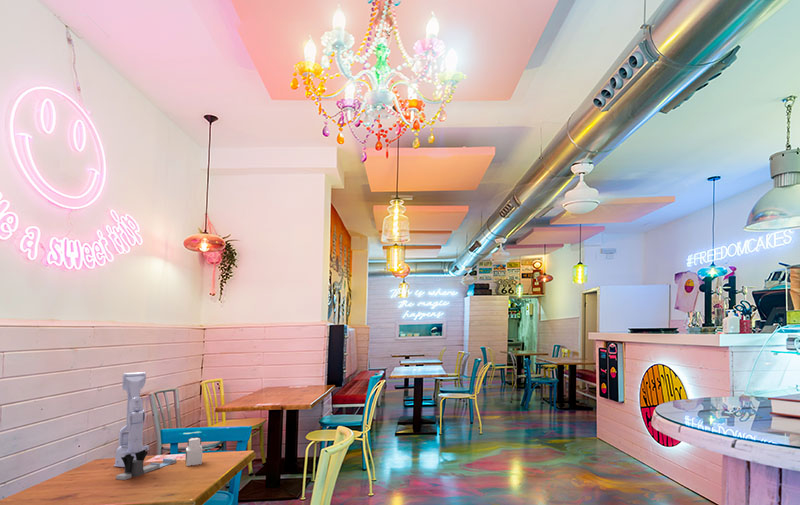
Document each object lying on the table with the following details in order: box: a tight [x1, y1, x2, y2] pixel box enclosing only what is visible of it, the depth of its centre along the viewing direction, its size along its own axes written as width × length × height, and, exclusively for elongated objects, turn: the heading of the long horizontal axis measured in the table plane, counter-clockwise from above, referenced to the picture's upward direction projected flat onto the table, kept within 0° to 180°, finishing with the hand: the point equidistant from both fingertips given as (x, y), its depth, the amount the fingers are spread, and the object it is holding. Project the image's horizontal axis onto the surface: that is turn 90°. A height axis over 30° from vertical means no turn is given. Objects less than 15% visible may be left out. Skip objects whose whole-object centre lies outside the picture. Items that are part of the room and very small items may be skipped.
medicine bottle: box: [185, 436, 203, 467], centre depth 241 cm, size 7×7×12 cm
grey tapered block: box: [123, 460, 144, 478], centre depth 224 cm, size 7×4×6 cm, turn 71°
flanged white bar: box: [115, 458, 177, 481], centre depth 231 cm, size 5×30×2 cm, turn 161°
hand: (133, 470), depth 223 cm, fingers open, 5 cm apart
